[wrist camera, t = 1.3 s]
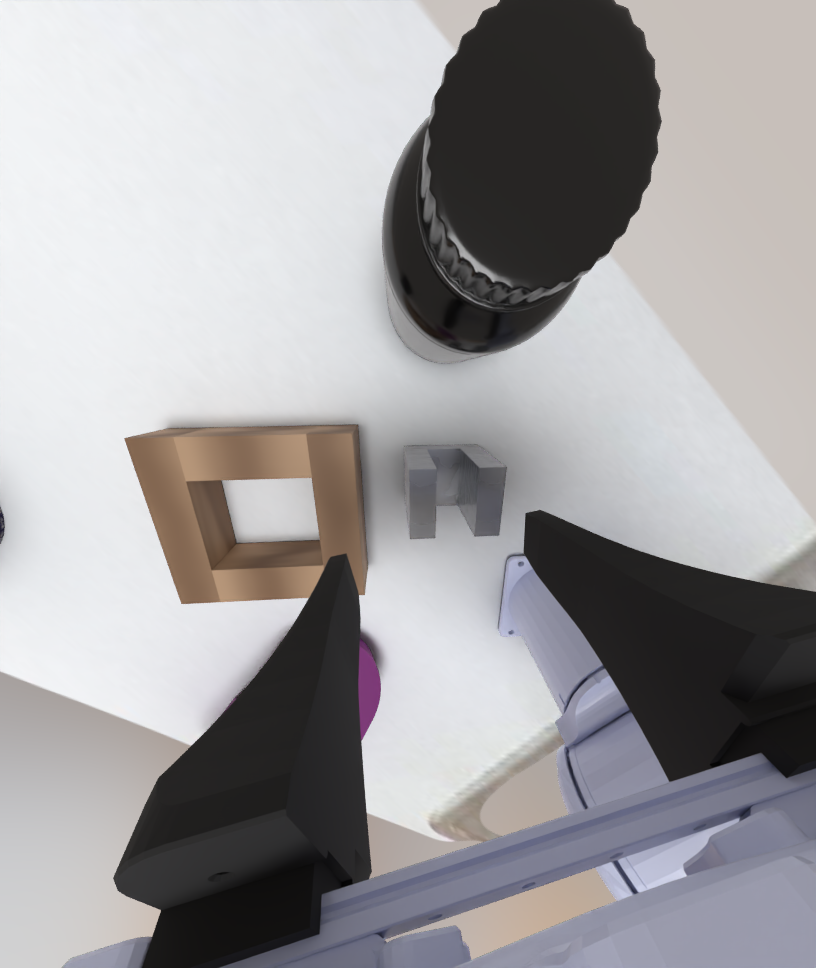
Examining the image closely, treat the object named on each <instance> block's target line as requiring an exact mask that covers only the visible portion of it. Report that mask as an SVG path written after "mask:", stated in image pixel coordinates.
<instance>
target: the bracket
mask: <svg viewBox="0 0 816 968" xmlns="http://www.w3.org/2000/svg"><path fill="white" fill-rule="evenodd" d="M404 468H405V504H406V512H407V520H408V528H409V535H410V539H424V538H435V526H436V506H441V505H458V507H459V509H460V510H461V512H462V514H463V516H464V518H465V520H466V522H467V524H468V525H469V527H470V529H471V531H472V533H473V535H474V536H498V535H499V531H500V522H501V513H502V504H503V495H504V486H505V477H506V468H507V467H506V466H505V465H503V464H502V463H501V462H499V461H498V460H497V459H495V458H494V457H493V456H492V455H490V454H489V453H488V452H486V451H485V450H484V449H482V448H481V447H480V446H478V445H477V444H464V445H422V446H404Z"/></svg>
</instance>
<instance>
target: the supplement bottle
mask: <svg viewBox="0 0 816 968" xmlns="http://www.w3.org/2000/svg"><path fill="white" fill-rule="evenodd" d="M660 91H661V90H660V87H659V85H658V83H657V80H656V79H655V59H654V58H653V57H652V55H651V54H650V52H649V51H648V50H647V47H646V41H645V35H644V32H643V31H642V30H641V29H640V28H638V27H637V26H636V25H634V24H633V21H632V19H631V15H630V12H629V10H628V8H626V7H624V6H621V5H618V4H616V2H615V1H614V0H500V2H499V3H498V4H497V6H494V7H491V8H488V9H486V10H485V11H483V12H482V14H481V16H480V17H479V19H478V22H477V24H476V26H475V28H473V29H471V30H470V31H468V32H467V33H466V34H465V35H463V36H462V38H461V41H460V44H459V47H458V50H457V53H456V55H455V56H454V57H453V58H452V59H451V60H450V61H449V62H448V63H447V65H446V67H445V69H444V72H443V77H442V83H441V87H440V88H439V89H438V91H437V93H436V95H435V96H434V99H433V102H432V106H431V113H430V116H429V117H428V118H427V119H426V120H425V121H424V122H423V123H422V124H421V125H420V127H419V128H418V129H417V131H416V132H415V133H414V134H413V136H412V137H411V139H410V140H409V142H408V143H407V145H406V147H405V148H404V150H403V152H402V154H401V156H400V158H399V160H398V162H397V165H396V167H395V170H394V172H393V174H392V177H391V181H390V184H389V187H388V191H387V195H386V200H385V206H384V213H383V227H382V249H383V259H384V270H385V280H386V290H387V300H388V307H389V312H390V317H391V320H392V323H393V325H394V328H395V330H396V332H397V334H398V335H399V337H400V338H401V340H402V341H403V342H404V344H405V345H406V346H407V347H408V348H409V349H410V350H411V351H413V352H414V353H415V354H417V355H418V356H420V357H422V358H424V359H426V360H429V361H432V362H436V363H456V362H461V361H465V360H469V359H473V358H477V357H481V356H485V355H489V354H493V353H497V352H501V351H504V350H507V349H509V348H512V347H514V346H516V345H519V344H521V343H522V342H524V341H526V340H528V339H530V338H531V337H533V336H534V335H535V334H537V333H538V332H539V331H541V330H542V329H543V328H544V327H546V326H547V325H548V324H549V323H550V322H551V321H552V320H553V319H554V318H555V317H556V315H557V314H558V313H559V312H560V311H561V310H562V308H563V307H564V306H565V304H566V303H567V302H568V300H569V299H570V297H571V295H572V294H573V292H574V291H575V289H576V287H577V285H578V283H579V281H580V279H581V277H582V276H583V275H585V274H586V273H588V272H589V271H590V270H591V268H592V267H593V266H594V264H595V263H596V262H597V261H599V260H601V259H602V258H604V257H605V256H606V255H607V254H608V253H609V251H610V250H611V248H612V246H613V244H614V242H615V241H616V240H618V239H619V238H620V237H621V236H622V235H623V234H624V233H625V232H626V229H627V227H628V224H629V221H630V218H631V217H632V216H633V215H634V214H635V213H636V212H637V211H638V210H639V208H640V203H641V199H642V194H643V192H644V191H645V189H646V188H647V187H648V185H649V183H650V181H651V168H652V165H653V163H654V161H655V158H656V156H657V154H658V142H657V135H658V132H659V129H660V126H661V122H662V121H661V116H660V112H659V108H658V105H659V99H660Z"/></svg>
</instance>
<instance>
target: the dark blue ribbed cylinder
mask: <svg viewBox="0 0 816 968" xmlns="http://www.w3.org/2000/svg"><path fill="white" fill-rule="evenodd" d="M4 527H5V526H4V518H3V514H2V511H1V508H0V543H1V541H2V538H3V536H4Z"/></svg>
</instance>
